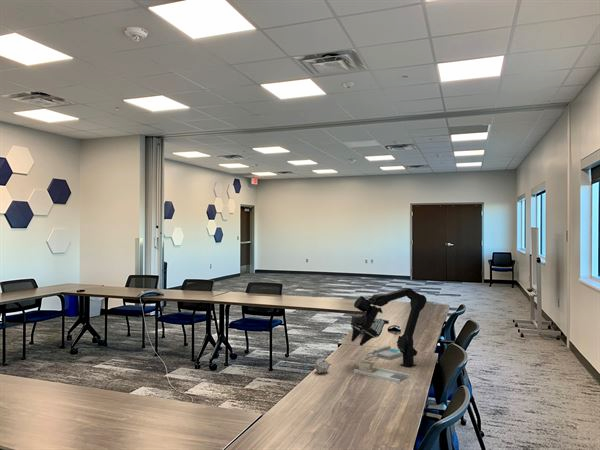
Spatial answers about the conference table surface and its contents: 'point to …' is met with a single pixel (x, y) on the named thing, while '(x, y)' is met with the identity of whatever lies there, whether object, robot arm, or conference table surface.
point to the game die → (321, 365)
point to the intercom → (385, 353)
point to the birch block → (367, 366)
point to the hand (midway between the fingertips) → (356, 343)
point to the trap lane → (385, 374)
